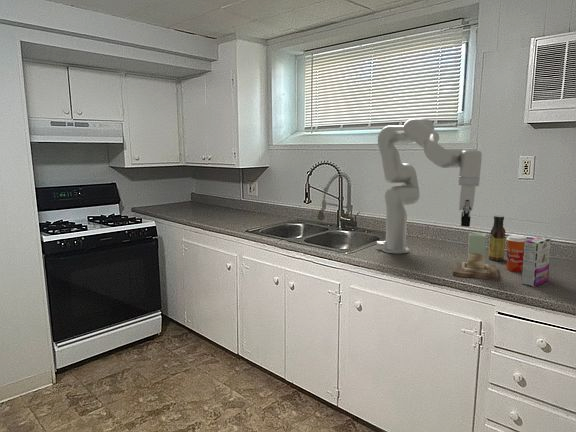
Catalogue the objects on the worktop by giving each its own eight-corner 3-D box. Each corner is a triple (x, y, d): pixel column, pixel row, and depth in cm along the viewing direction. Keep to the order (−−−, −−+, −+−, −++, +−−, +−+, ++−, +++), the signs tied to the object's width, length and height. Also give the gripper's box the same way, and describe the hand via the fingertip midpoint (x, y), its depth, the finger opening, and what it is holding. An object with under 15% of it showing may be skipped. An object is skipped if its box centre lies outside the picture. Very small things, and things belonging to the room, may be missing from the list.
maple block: (467, 269, 166) (468, 252, 165) (467, 265, 172) (468, 249, 171) (483, 271, 164) (484, 254, 163) (483, 267, 170) (484, 250, 168)
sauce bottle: (490, 256, 191) (493, 214, 188) (505, 259, 187) (508, 215, 184) (486, 259, 186) (489, 216, 183) (501, 262, 182) (505, 217, 179)
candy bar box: (534, 278, 160) (538, 236, 158) (548, 281, 156) (552, 238, 154) (519, 283, 154) (523, 240, 151) (534, 287, 150) (538, 242, 147)
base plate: (453, 275, 164) (453, 269, 163) (454, 265, 178) (454, 259, 178) (498, 280, 158) (499, 273, 157) (495, 268, 172) (496, 263, 172)
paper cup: (501, 270, 171) (503, 236, 168) (507, 266, 176) (510, 233, 174) (522, 274, 165) (525, 239, 163) (528, 270, 170) (531, 236, 168)
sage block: (468, 252, 165) (469, 235, 164) (468, 249, 171) (469, 232, 169) (485, 254, 163) (486, 236, 162) (484, 250, 168) (485, 233, 167)
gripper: (458, 179, 174) (455, 219, 178) (458, 183, 159) (454, 227, 162) (478, 180, 171) (474, 220, 175) (480, 184, 156) (475, 229, 159)
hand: (465, 223), depth 168 cm, fingers open, 9 cm apart
